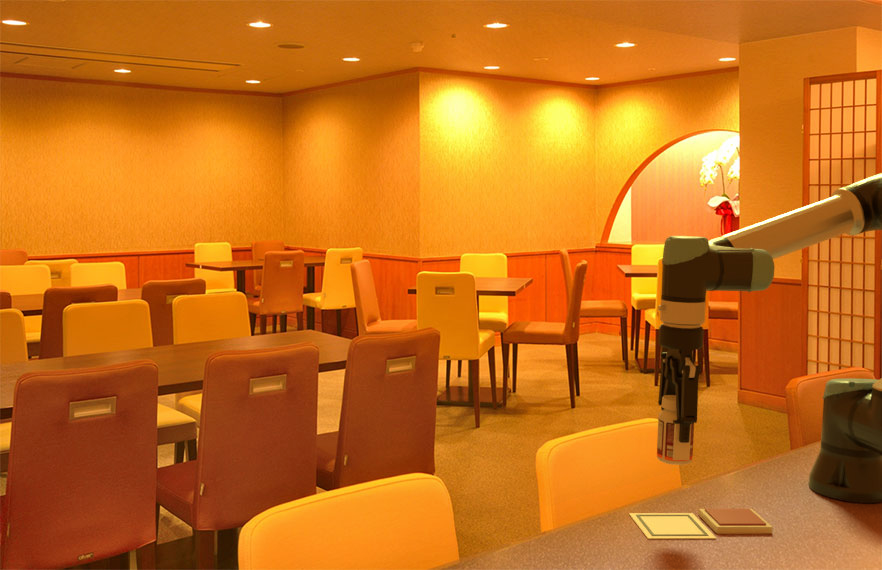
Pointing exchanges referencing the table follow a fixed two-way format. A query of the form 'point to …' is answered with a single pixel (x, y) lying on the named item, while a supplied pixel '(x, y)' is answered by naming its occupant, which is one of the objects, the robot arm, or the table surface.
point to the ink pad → (735, 521)
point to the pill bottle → (669, 432)
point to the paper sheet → (671, 526)
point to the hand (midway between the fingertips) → (674, 453)
